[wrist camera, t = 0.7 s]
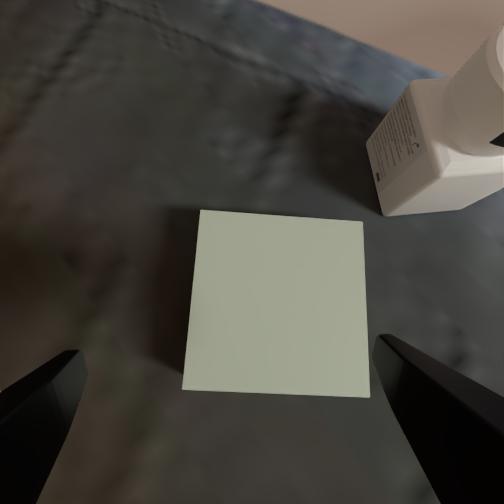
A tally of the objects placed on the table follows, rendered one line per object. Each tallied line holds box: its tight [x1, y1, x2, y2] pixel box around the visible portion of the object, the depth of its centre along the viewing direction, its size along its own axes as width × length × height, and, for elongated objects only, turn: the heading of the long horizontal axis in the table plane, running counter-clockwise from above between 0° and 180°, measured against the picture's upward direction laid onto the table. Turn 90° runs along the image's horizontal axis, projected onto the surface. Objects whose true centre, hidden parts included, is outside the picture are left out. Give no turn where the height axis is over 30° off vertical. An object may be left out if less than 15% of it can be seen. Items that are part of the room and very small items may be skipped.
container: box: [366, 24, 504, 216], centre depth 21 cm, size 8×8×13 cm
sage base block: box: [182, 210, 370, 397], centre depth 22 cm, size 12×12×4 cm
